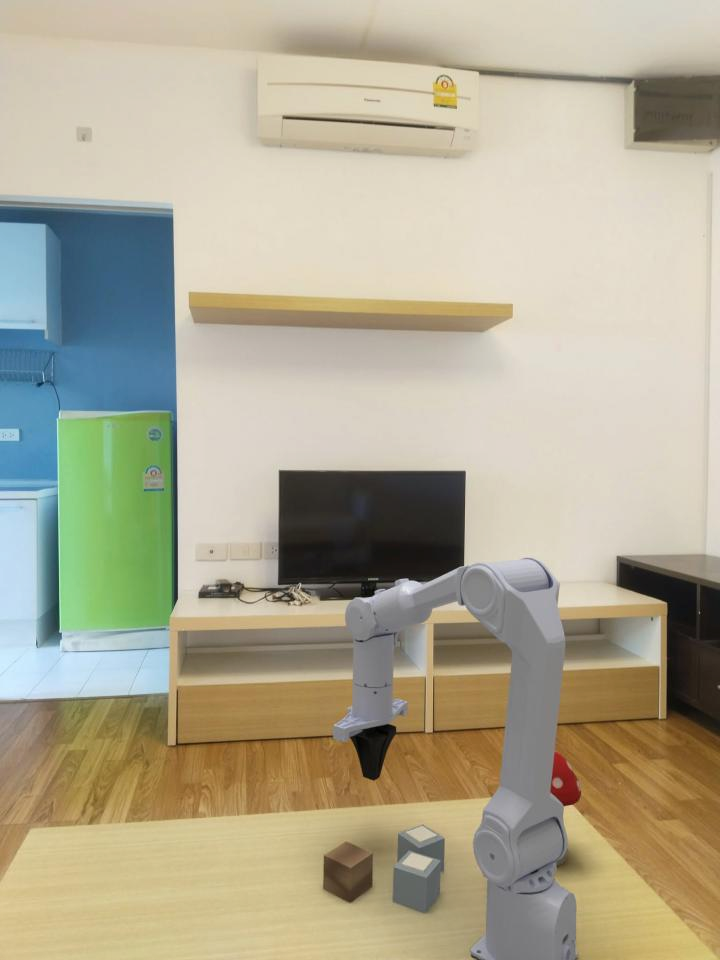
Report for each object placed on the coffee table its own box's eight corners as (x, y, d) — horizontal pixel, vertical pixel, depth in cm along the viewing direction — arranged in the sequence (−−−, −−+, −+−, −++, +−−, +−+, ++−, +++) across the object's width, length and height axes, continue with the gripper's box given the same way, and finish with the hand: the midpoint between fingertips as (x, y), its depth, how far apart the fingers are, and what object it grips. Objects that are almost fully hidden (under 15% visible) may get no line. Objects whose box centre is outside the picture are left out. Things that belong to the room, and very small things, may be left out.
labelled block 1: (444, 871, 98) (444, 835, 98) (418, 881, 95) (419, 845, 95) (422, 856, 101) (422, 822, 101) (397, 866, 99) (397, 831, 99)
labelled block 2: (440, 895, 92) (440, 858, 92) (425, 914, 88) (426, 875, 88) (408, 884, 94) (408, 848, 94) (392, 902, 90) (393, 864, 90)
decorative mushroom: (594, 863, 100) (596, 757, 99) (547, 882, 96) (550, 771, 95) (542, 829, 108) (544, 731, 107) (498, 845, 104) (499, 743, 103)
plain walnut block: (372, 887, 94) (372, 853, 93) (350, 903, 90) (350, 867, 90) (345, 874, 96) (346, 841, 96) (323, 889, 93) (323, 855, 93)
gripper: (381, 665, 110) (379, 754, 110) (317, 687, 99) (315, 785, 99) (420, 674, 106) (418, 766, 106) (357, 698, 94) (355, 801, 95)
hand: (371, 777), depth 102 cm, fingers closed
